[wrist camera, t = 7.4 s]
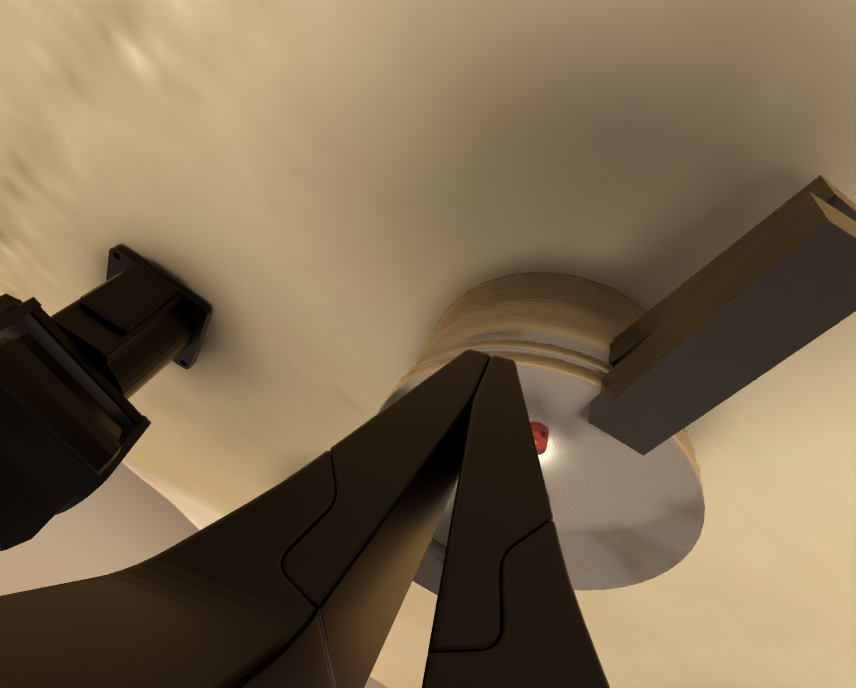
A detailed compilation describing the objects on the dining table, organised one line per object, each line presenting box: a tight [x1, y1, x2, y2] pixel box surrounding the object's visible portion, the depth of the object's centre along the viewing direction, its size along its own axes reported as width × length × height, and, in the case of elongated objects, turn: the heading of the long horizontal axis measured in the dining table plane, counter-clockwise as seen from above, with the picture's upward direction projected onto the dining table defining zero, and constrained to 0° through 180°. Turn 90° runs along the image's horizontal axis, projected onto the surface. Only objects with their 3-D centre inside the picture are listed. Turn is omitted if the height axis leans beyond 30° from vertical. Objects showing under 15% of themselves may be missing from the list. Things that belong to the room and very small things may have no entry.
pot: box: [399, 175, 856, 459], centre depth 21 cm, size 22×13×6 cm, turn 149°
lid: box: [378, 192, 856, 595], centre depth 18 cm, size 22×13×2 cm, turn 154°
